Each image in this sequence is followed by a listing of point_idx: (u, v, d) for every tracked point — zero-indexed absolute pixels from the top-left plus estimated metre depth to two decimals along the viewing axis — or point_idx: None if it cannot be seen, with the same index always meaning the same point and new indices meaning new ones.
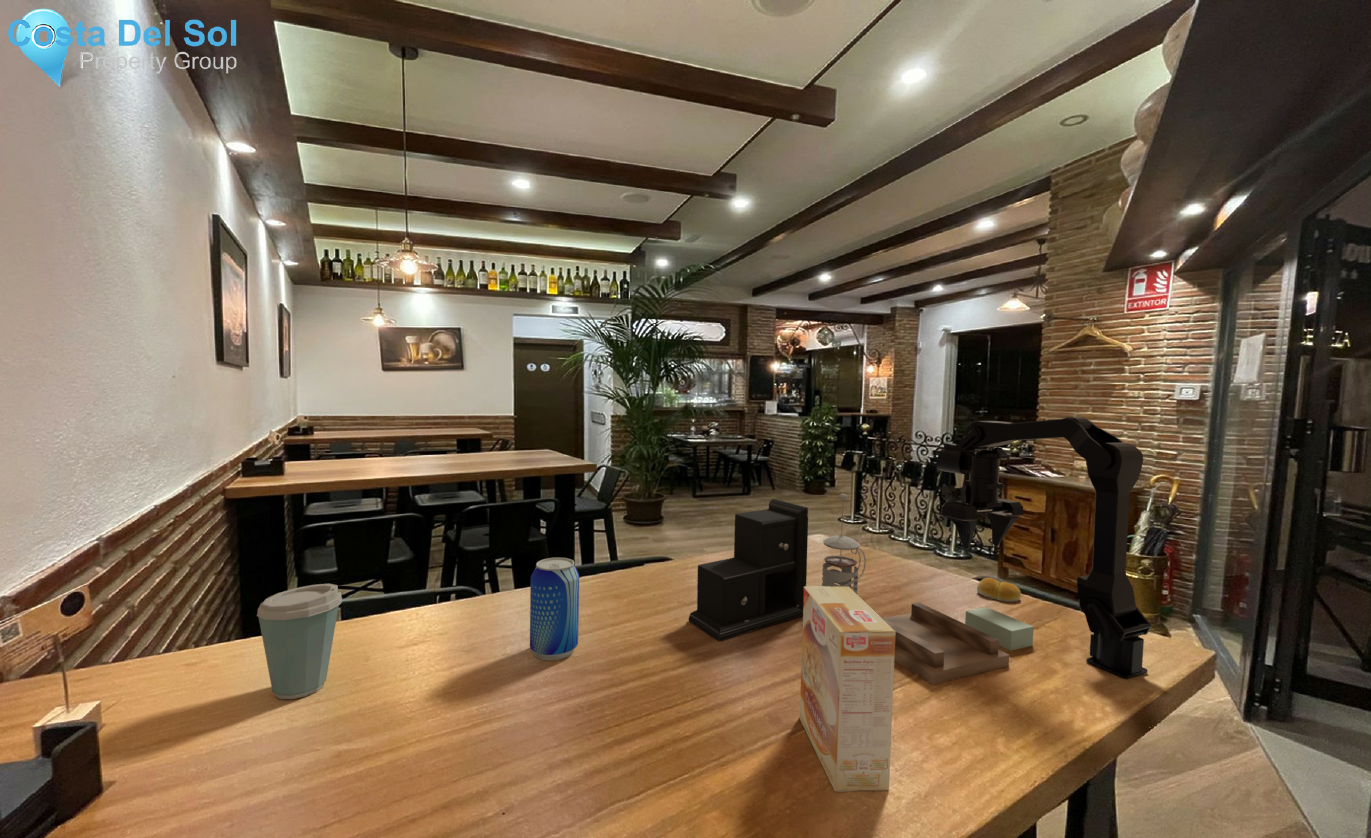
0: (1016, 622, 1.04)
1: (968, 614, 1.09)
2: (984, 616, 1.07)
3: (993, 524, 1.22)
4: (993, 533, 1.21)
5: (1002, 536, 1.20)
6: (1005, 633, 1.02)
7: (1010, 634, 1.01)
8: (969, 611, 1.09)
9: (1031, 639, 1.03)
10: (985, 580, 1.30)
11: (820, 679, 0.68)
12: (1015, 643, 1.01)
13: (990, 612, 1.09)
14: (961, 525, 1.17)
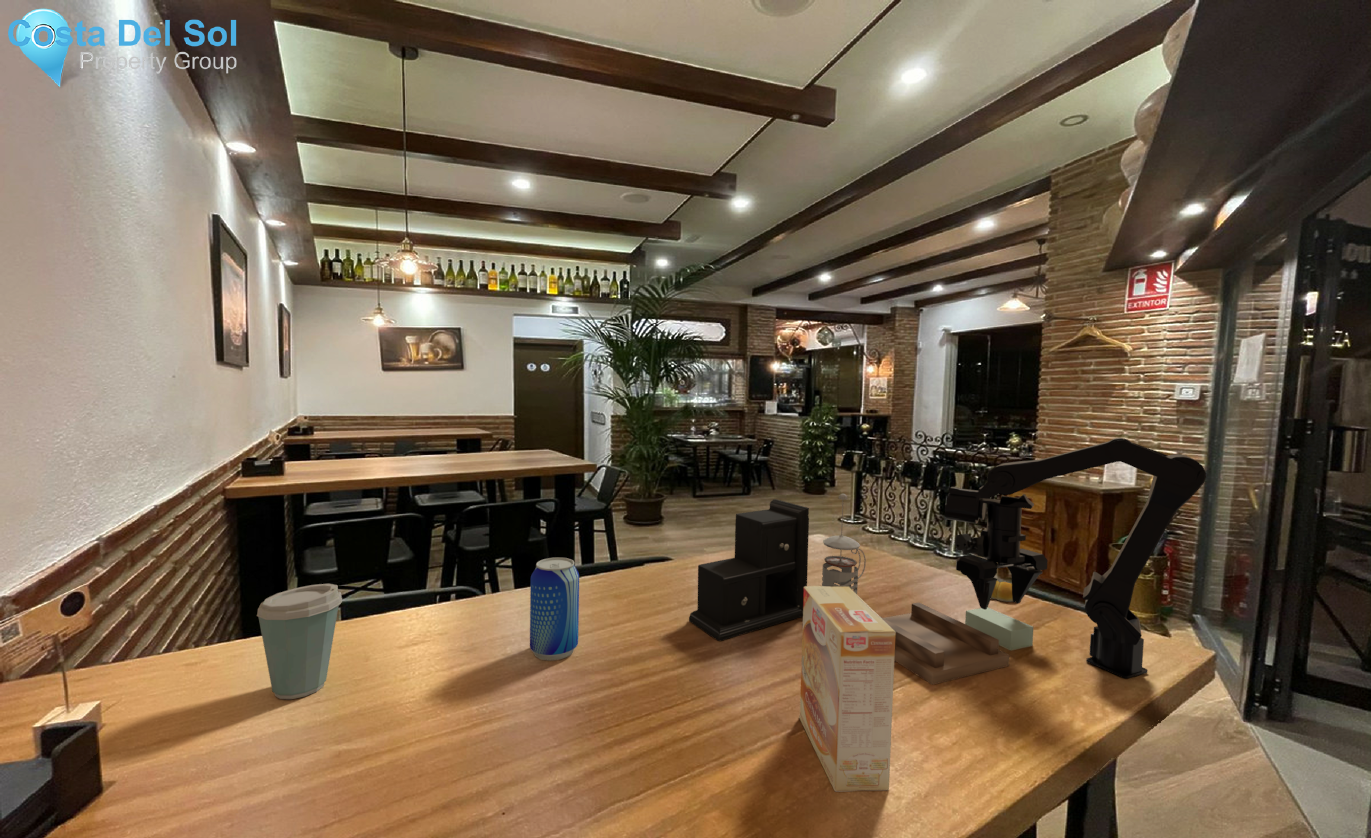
0: (1016, 622, 1.04)
1: (968, 614, 1.09)
2: (984, 616, 1.07)
3: (1013, 578, 1.08)
4: (1013, 589, 1.08)
5: (1024, 593, 1.06)
6: (1004, 633, 1.02)
7: (1010, 634, 1.01)
8: (969, 611, 1.09)
9: (1031, 639, 1.03)
10: None
11: (820, 679, 0.68)
12: (1014, 643, 1.01)
13: (990, 612, 1.09)
14: (978, 582, 1.04)
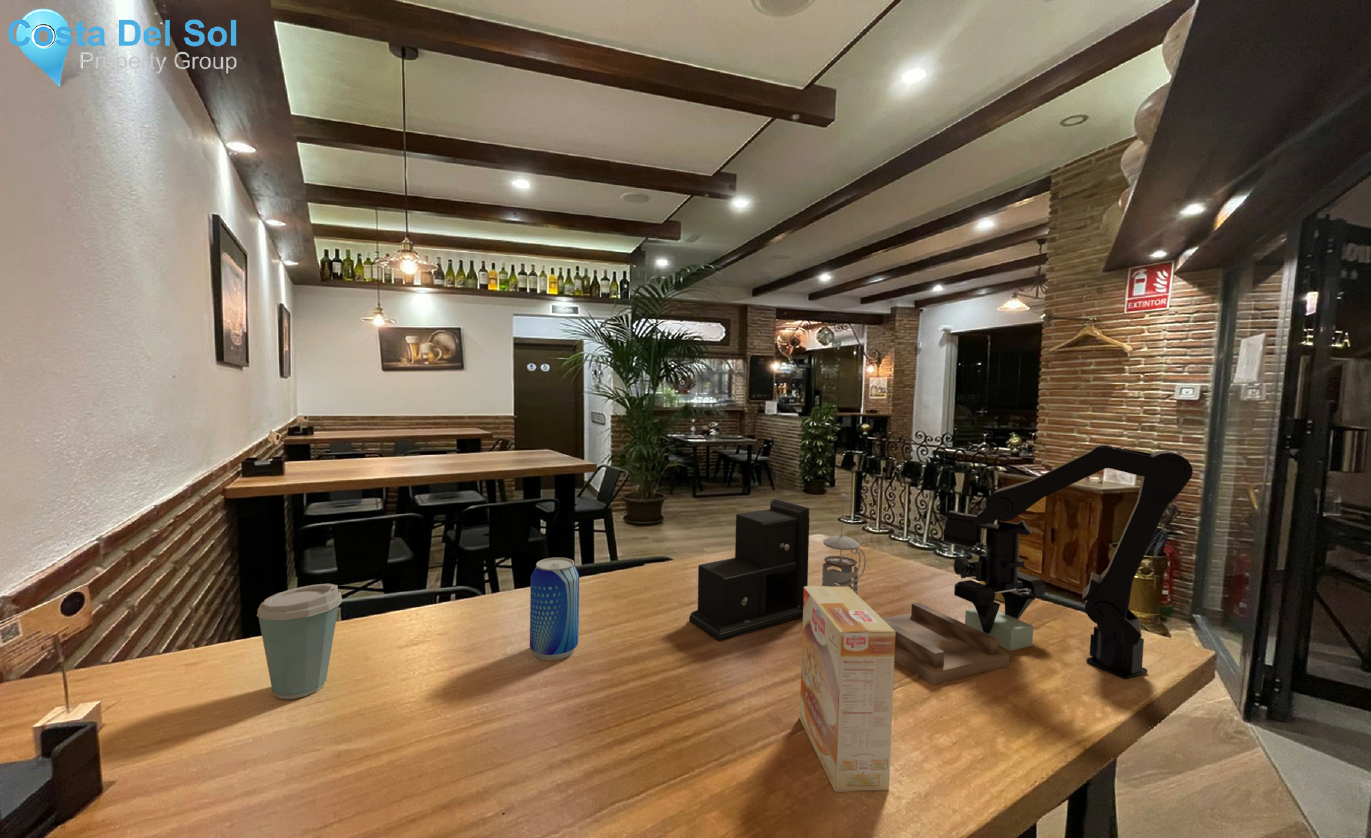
0: (1016, 621, 1.04)
1: (968, 613, 1.09)
2: None
3: (1006, 604, 1.08)
4: (1006, 614, 1.08)
5: None
6: (1004, 632, 1.02)
7: (1010, 633, 1.01)
8: (969, 610, 1.09)
9: (1031, 638, 1.03)
10: None
11: (820, 679, 0.68)
12: (1014, 642, 1.01)
13: None
14: (981, 606, 1.05)
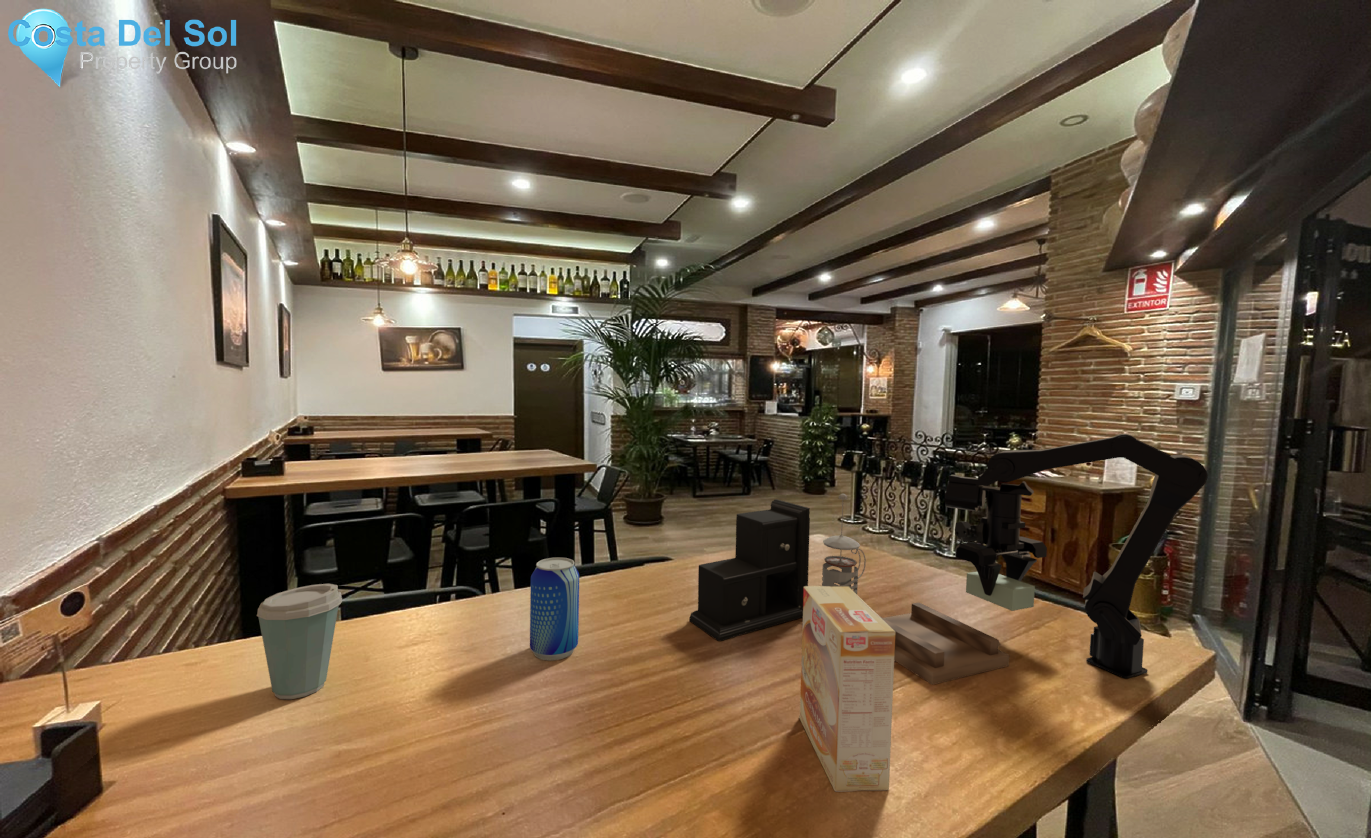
0: (1018, 582, 1.04)
1: (969, 576, 1.09)
2: None
3: (1008, 567, 1.08)
4: None
5: None
6: (1006, 592, 1.01)
7: (1011, 593, 1.00)
8: (970, 573, 1.09)
9: (1032, 599, 1.02)
10: None
11: (820, 679, 0.68)
12: (1016, 602, 1.01)
13: None
14: (983, 568, 1.04)
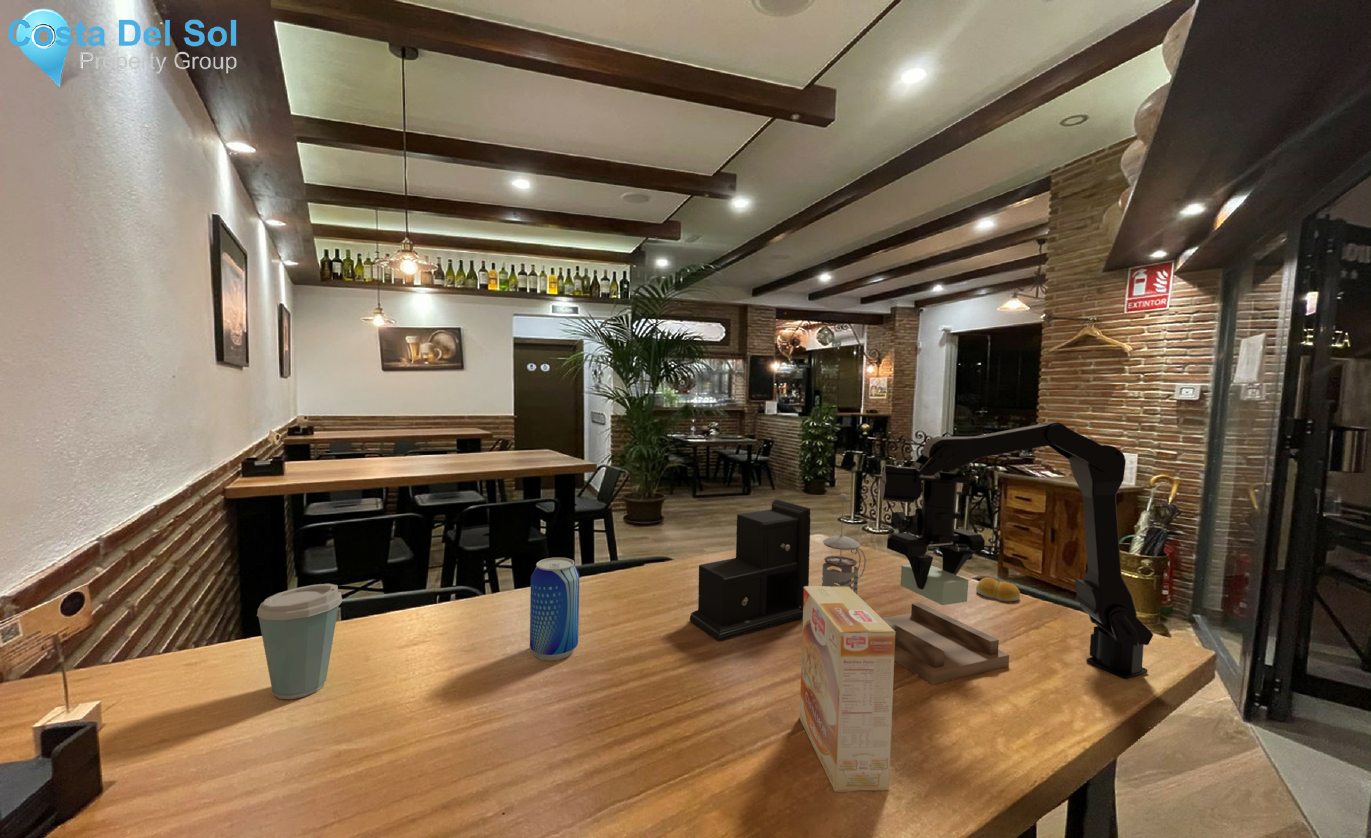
0: (952, 576, 0.99)
1: (904, 569, 1.03)
2: None
3: (944, 560, 1.02)
4: None
5: None
6: (937, 585, 0.96)
7: (942, 586, 0.95)
8: (905, 565, 1.04)
9: (966, 593, 0.97)
10: (984, 580, 1.30)
11: (820, 679, 0.68)
12: (947, 596, 0.95)
13: None
14: (915, 561, 0.99)
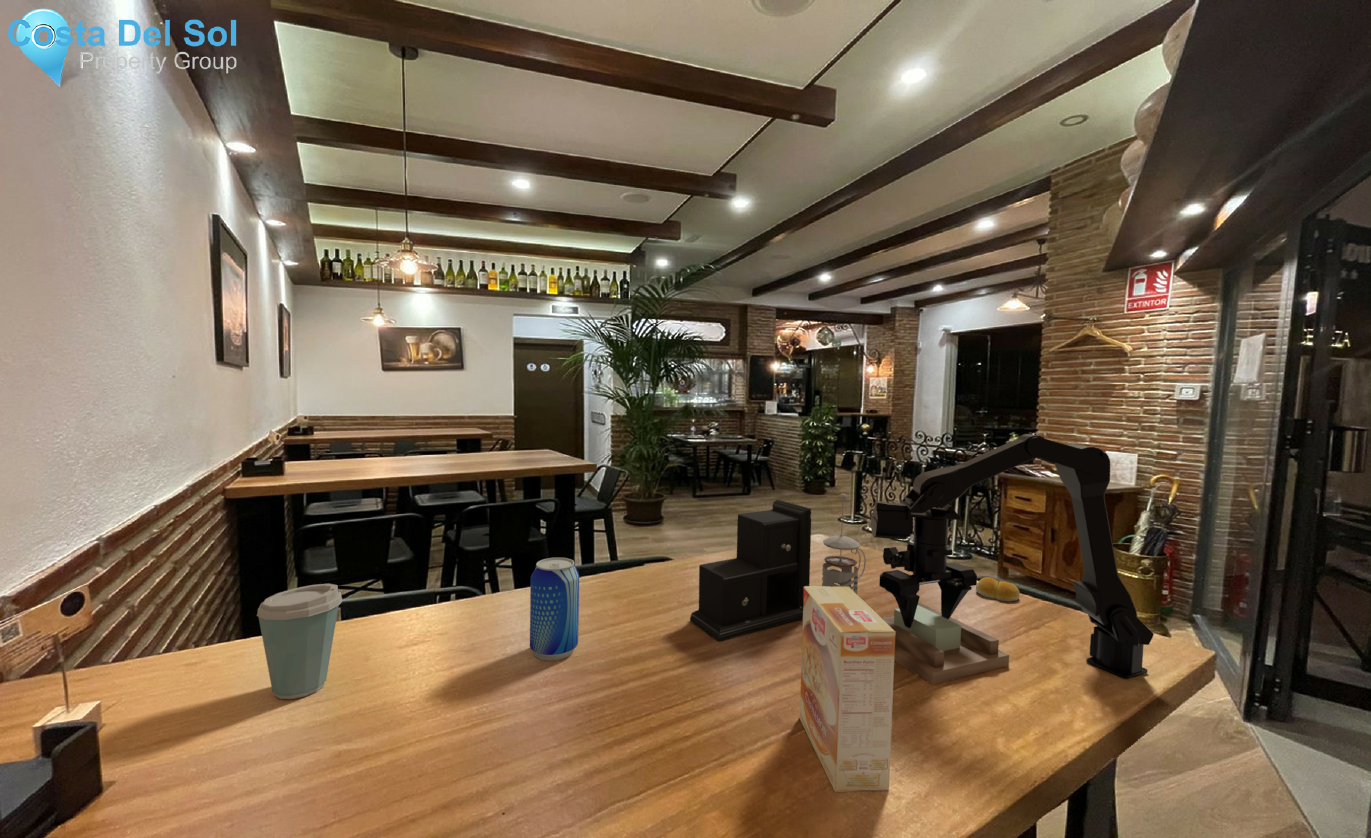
0: (944, 621, 0.98)
1: (896, 612, 1.03)
2: None
3: (942, 594, 1.03)
4: (942, 605, 1.02)
5: (952, 610, 1.01)
6: (930, 632, 0.96)
7: (935, 634, 0.95)
8: (898, 609, 1.03)
9: (959, 639, 0.97)
10: (984, 580, 1.30)
11: (820, 679, 0.68)
12: (940, 643, 0.95)
13: (920, 610, 1.03)
14: (902, 599, 0.98)
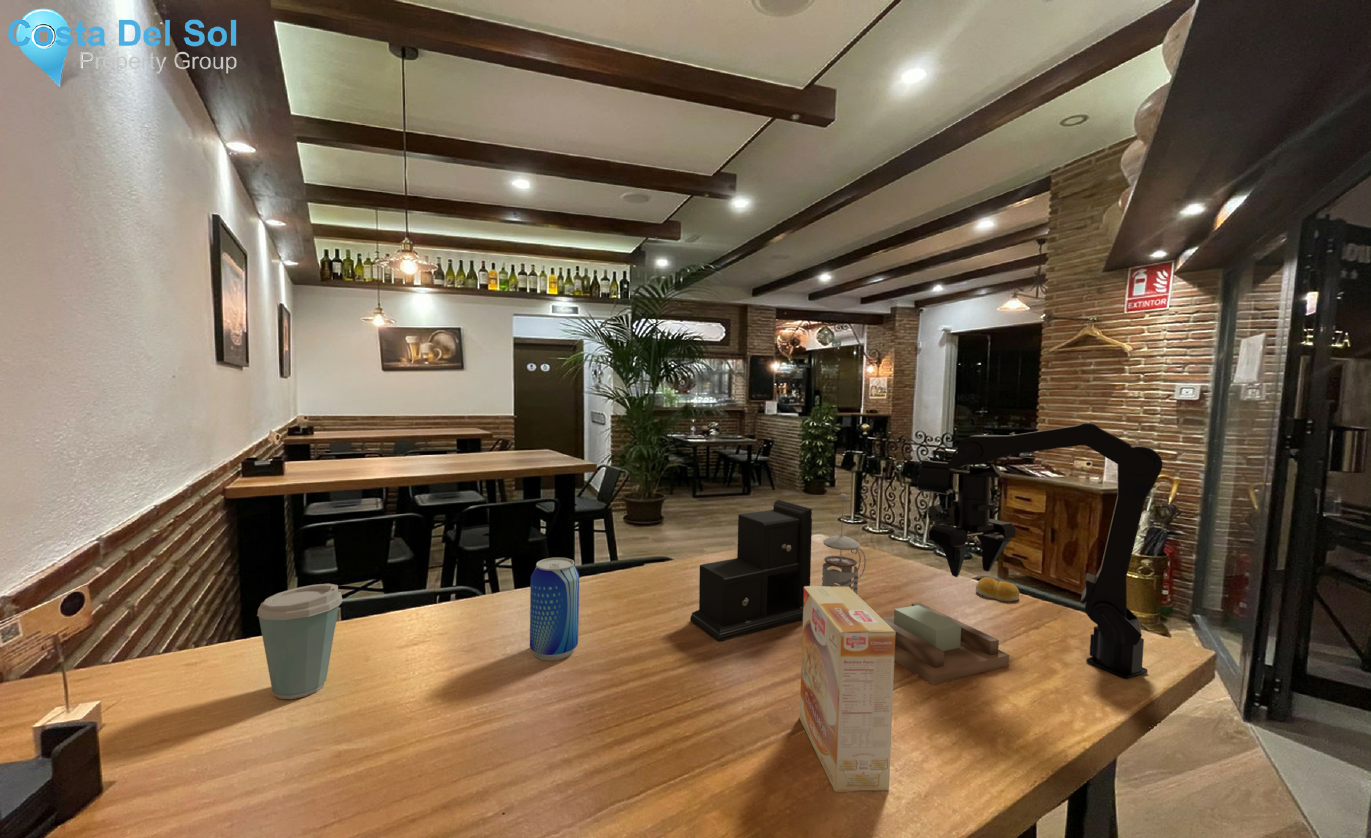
0: (944, 621, 0.98)
1: (896, 612, 1.03)
2: (912, 614, 1.01)
3: (983, 547, 1.12)
4: (983, 557, 1.11)
5: (993, 561, 1.10)
6: (930, 632, 0.96)
7: (935, 634, 0.95)
8: (898, 609, 1.03)
9: (959, 639, 0.97)
10: (984, 580, 1.30)
11: (820, 679, 0.68)
12: (940, 643, 0.95)
13: (920, 610, 1.03)
14: (950, 550, 1.07)
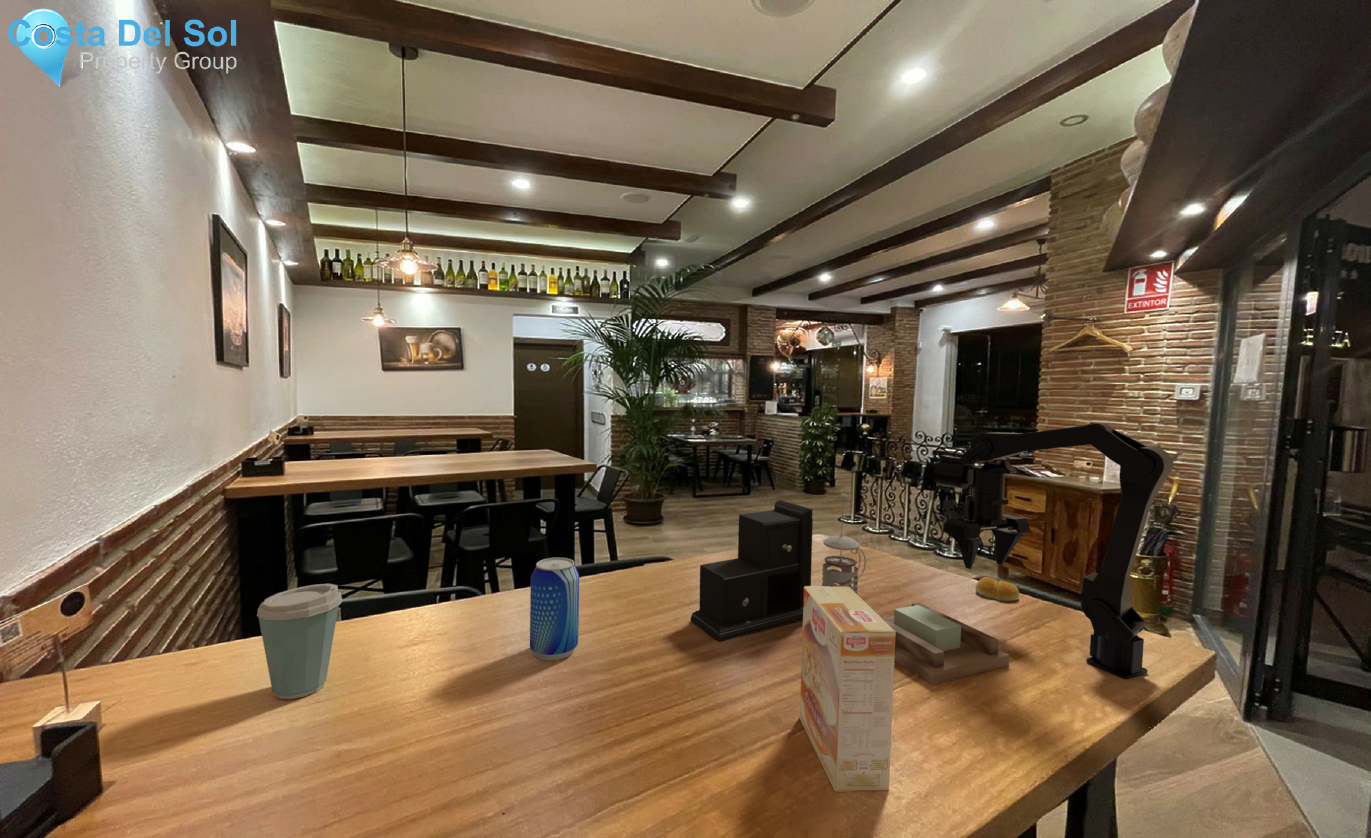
0: (944, 621, 0.98)
1: (896, 612, 1.03)
2: (912, 614, 1.01)
3: (997, 541, 1.15)
4: (997, 551, 1.15)
5: (1006, 554, 1.13)
6: (930, 632, 0.96)
7: (935, 634, 0.95)
8: (898, 609, 1.03)
9: (959, 639, 0.97)
10: (983, 579, 1.30)
11: (820, 679, 0.68)
12: (940, 643, 0.95)
13: (920, 610, 1.03)
14: (963, 543, 1.10)
